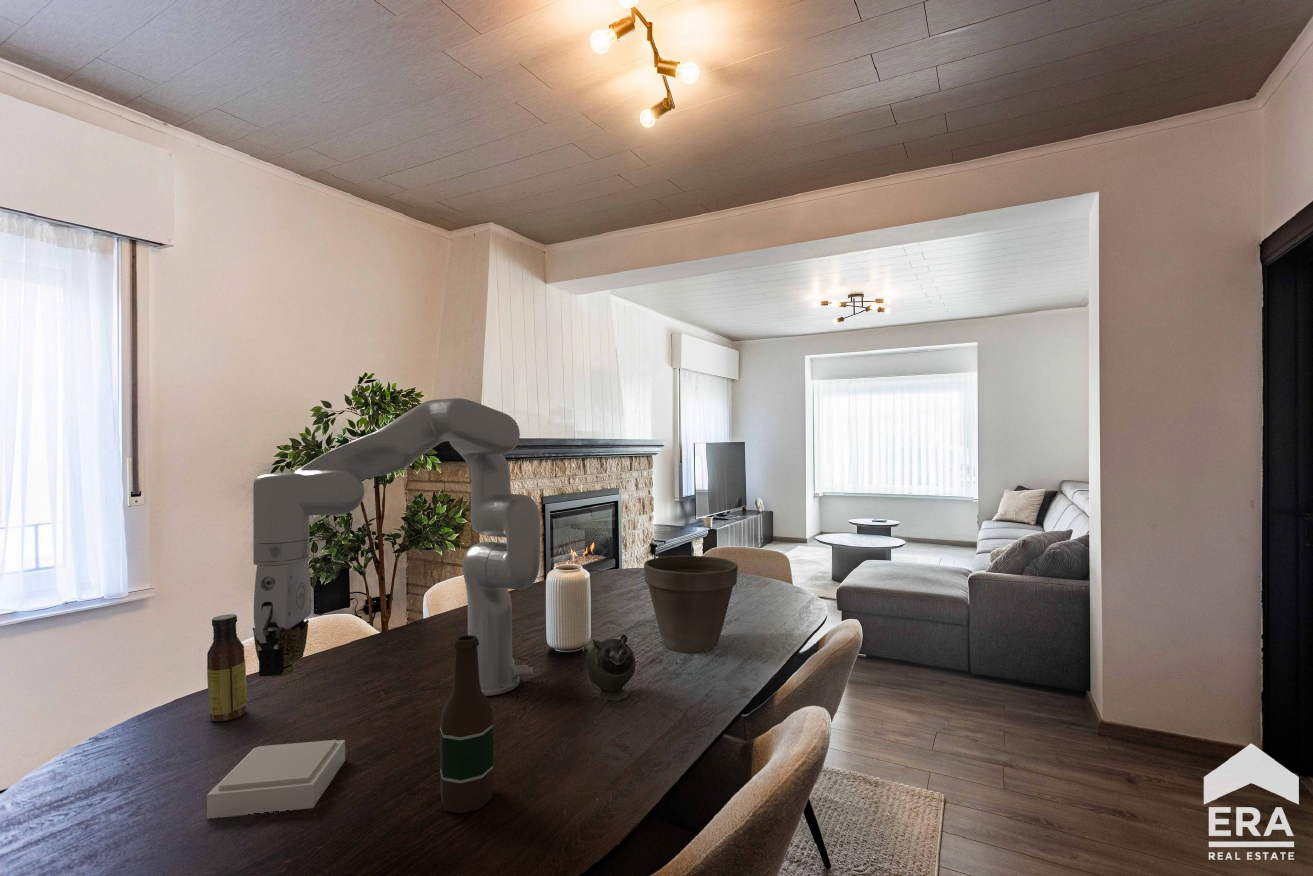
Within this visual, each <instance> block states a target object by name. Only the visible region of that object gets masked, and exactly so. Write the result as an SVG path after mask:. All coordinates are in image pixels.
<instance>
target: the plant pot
mask: <svg viewBox="0 0 1313 876" xmlns="http://www.w3.org/2000/svg"><path fill="white" fill-rule="evenodd" d="M738 569H739V565H738V564H737V563H736V562H735V561H734V560H733V561H732V560H729V559H727V558H726V559H725V558H723V557H722V558H721V557H715V556H713V557H712V556H704V555H703V556H702V555H669V556H660V557H653V558H651V559H647V560H646V561H645V562H644V563H643V571H644V572H643V573H644V582H645V583H646V584H647V585H648V589H649V594H650V598H651V603H652V606H653V610H654V615H655V619H656V622H657V626H658V630H659V634H660V638H661V641H662V644H663V646H664V647H665V648H667V649H669V650H672V651H675V652H679V651H680V653H689V652H695V653H703V652H702V651H704V652H707V651H706V650H709V651H711V650H710V649H712V648H714V647H715V648H716V647H717V646H718V644H719V642H720V637H721V635H722V631H723V627H724V623H725V619H726V615H727V612H728V607H729V604H730V600H731V597H732V592H733V588H734V587H735V585H737V583H738ZM715 648H714V649H715ZM712 650H713V649H712Z"/></svg>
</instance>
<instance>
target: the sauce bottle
mask: <svg viewBox="0 0 1313 876" xmlns="http://www.w3.org/2000/svg"><path fill="white" fill-rule="evenodd" d="M237 623H238V617H237V614H234V613H229V614H222V615H218V616H215V617H213V618H212V619H211V625H212V628H213V630H212V632H213V638H212V639H213V641H212V643H211V645H210V647H209V650H208V651H207V653H206V657H207V658H206V662H207V663H206V673H207V678H206V679H207V695H208V697H207V699H208V713H209V719H210V720H211V721H212V722H217V723H218V722H219V723H221V722H227V721H232V720H235V719H238V718H240V717H242V716H244V715H245V713H246V712H247V708H248V707H247V704H248V693H247V692H248V691H247V671H246V669H247V667H246V659H245V645H244V644H243V643H242V641H241V640H240V639H239V637H238V634H237Z"/></svg>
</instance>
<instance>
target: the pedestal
mask: <svg viewBox="0 0 1313 876" xmlns="http://www.w3.org/2000/svg"><path fill="white" fill-rule="evenodd" d="M345 761H346V739H341V740H337V739H331V740H317V741H306V742H304V741H303V742H296V743H285V744H284V743H281V744H272V745H271V744H270V745H269V744H268V745H258V746H257V747H253V749H251V750H250V751H249V753H248V754H246V756H245V757H244V758H243V759H241V760H240V761H239V762H238V763H237V764H236V765H235V766H234V767H233V769H231V770H230V771H229V772H228V773H227V774H226V776H223V778H222V779H221V780H220V781H219V782H218V783H217V784H216V785H215V786H214V787H213V788H212V789H211V790H210V791H209V792H208V793H207V795H206V819H207V820H209V819H210V818H211V819H219V818H220V819H221V818H227V817H228V818H230V817H238V816H249V815H248V814H250V815H255V814H254V813H260V814H265V813H264V812H269V813H276V812H275V811H279V812H287V811H286V810H289V811H297V810H298V811H299V810H306V809H313V808H314V807H316V804H317V803H318V801H319V800H320V798H321V796H322V795H323V794H324V793H325V791H326V789H327V788H328V787H329V786H330V784H331V783H332V781H333V779H334V778H335V776H336V775H337V773H338V772H339V770H340V768H341V767H342V766H343V765H344V763H345ZM273 811H274V812H273ZM218 817H219V818H218Z"/></svg>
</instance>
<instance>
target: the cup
mask: <svg viewBox="0 0 1313 876" xmlns="http://www.w3.org/2000/svg"><path fill="white" fill-rule="evenodd" d="M309 623H310V620H309V619H308V618H306V621H305V619H304V620H302V621H301V622H299V624H297V625H295V626H293V627H292V628H290V629H284V631H283V632H282V642H281V647H284V672H283V673H282V674H281V675H276V676H269V677H270V678H274V679H276V678H277V679H280V678H285V677H289V676H290V675H292V674H293V673H294V672H295V669H296V665H295V663H297V662H299V660H301V659H302V658H303V657H302V655H303V656H304V653H305V650H306V646H307V645H306V644H307V641H308V639H307V638H308V631H309ZM270 627H278V625H277V624H272V625H270V626H269V627H268V628H270ZM254 629H255V627H252V631H253V640H254V646H255V653H256V657H257V659H258V661H259V651H258V643H257V640H256V637H255V635H254ZM269 634H272V636H273V637H274V639H275V637H276V632H274V633H269ZM281 647H280V648H281ZM301 657H302V658H301Z"/></svg>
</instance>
